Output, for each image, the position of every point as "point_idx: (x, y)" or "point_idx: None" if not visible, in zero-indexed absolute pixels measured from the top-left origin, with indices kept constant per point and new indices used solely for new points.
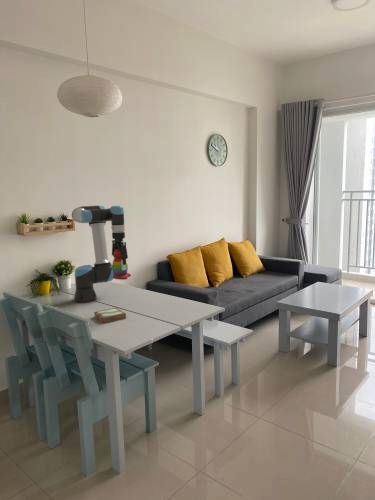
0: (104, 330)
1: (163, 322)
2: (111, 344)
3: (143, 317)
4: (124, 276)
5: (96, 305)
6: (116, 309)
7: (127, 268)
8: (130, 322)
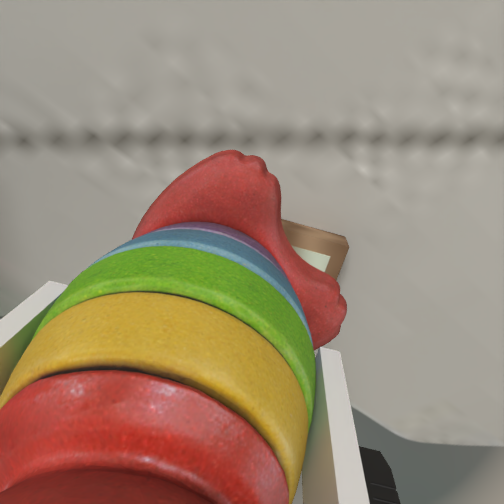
0: (373, 381)
1: None
2: (500, 443)
3: (425, 171)
4: (327, 332)
5: (34, 193)
6: None
7: (293, 295)
8: (410, 264)
